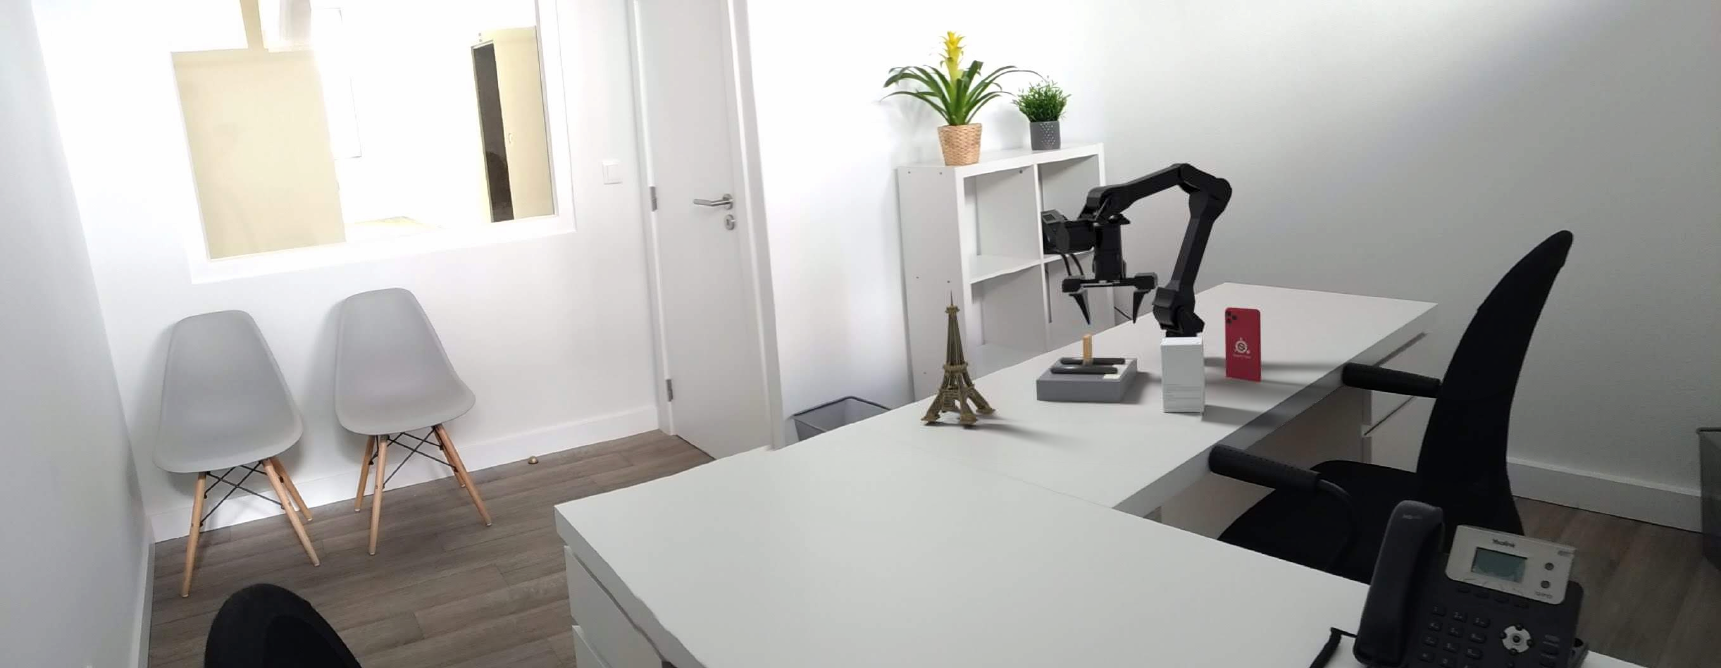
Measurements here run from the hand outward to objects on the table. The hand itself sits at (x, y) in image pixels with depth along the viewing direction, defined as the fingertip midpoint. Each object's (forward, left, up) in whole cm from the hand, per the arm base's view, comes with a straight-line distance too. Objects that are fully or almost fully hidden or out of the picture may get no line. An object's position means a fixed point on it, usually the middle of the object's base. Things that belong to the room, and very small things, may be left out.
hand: (1111, 323), depth 223 cm
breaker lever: (+3, +9, -7) cm, 12 cm away
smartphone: (-26, +2, -12) cm, 28 cm away
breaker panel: (+3, +9, -12) cm, 15 cm away
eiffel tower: (+23, +33, -12) cm, 42 cm away
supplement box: (-17, +23, -12) cm, 31 cm away
